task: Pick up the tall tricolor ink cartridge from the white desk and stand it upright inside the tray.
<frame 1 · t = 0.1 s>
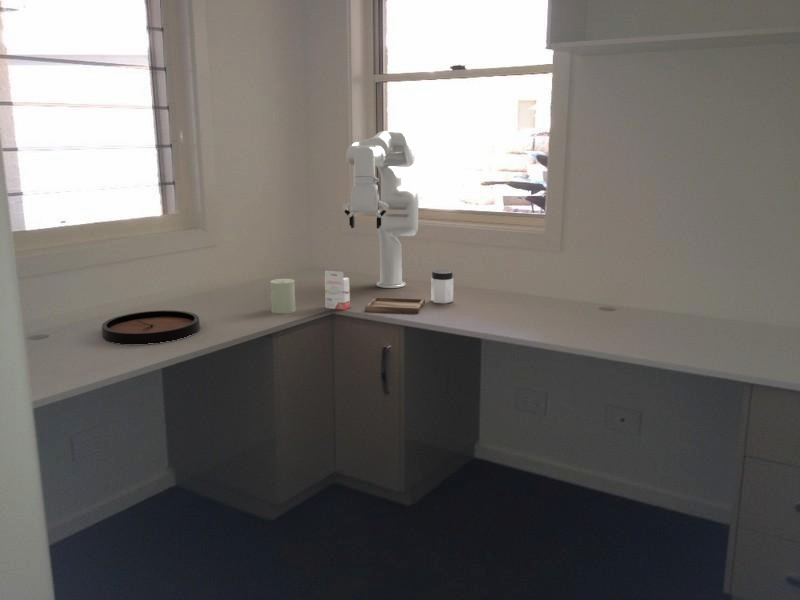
hand: (365, 227, 271), 31 cm above the worktop, tool pointing down, fingers open, 9 cm apart
can: (283, 311, 277), on the worktop
tray: (395, 307, 281), on the worktop
jar: (442, 301, 291), on the worktop
wall clock: (152, 333, 248), on the worktop
ink cartridge box: (337, 308, 281), on the worktop
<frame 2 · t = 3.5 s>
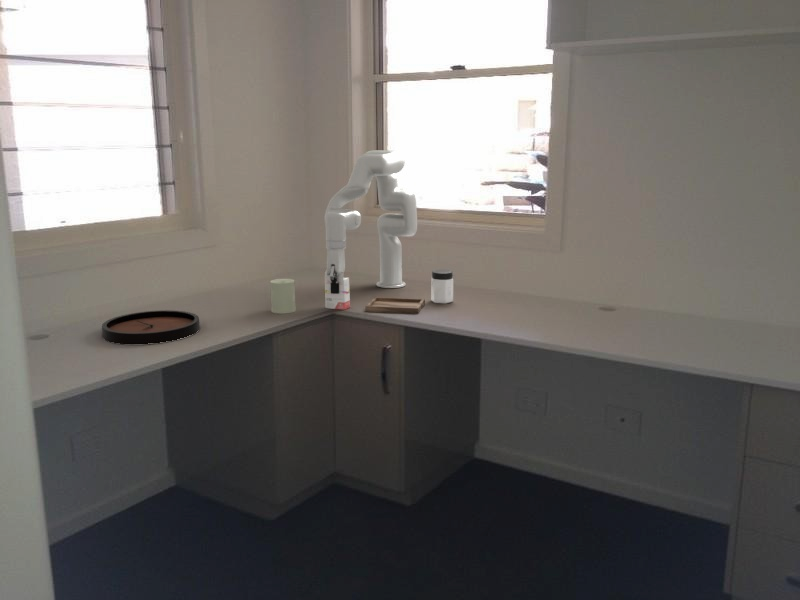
hand: (337, 291, 279), 7 cm above the worktop, tool pointing down, fingers closed on ink cartridge box, 5 cm apart
ink cartridge box: (337, 308, 281), on the worktop, touching gripper
everything else where it was.
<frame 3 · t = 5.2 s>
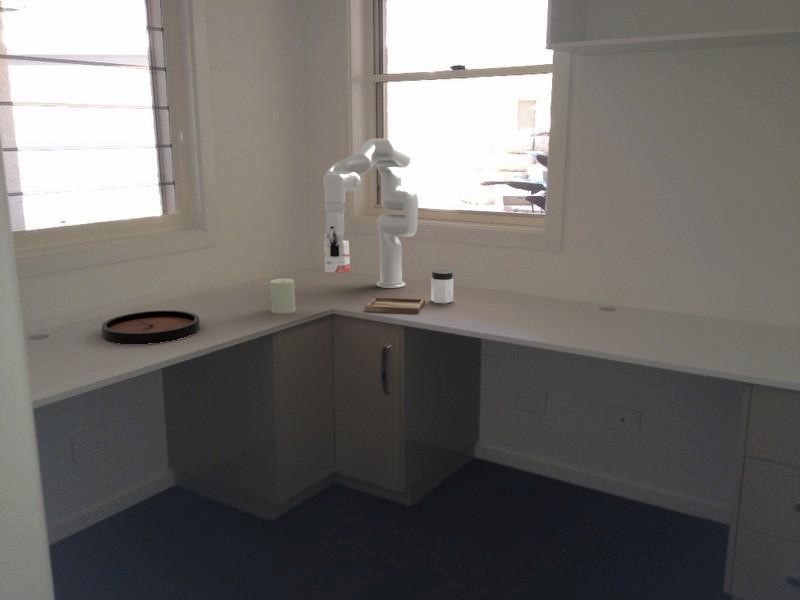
hand: (337, 254, 277), 21 cm above the worktop, tool pointing down, fingers closed on ink cartridge box, 5 cm apart
ink cartridge box: (337, 271, 278), point 14 cm above the worktop, touching gripper
everything else where it was.
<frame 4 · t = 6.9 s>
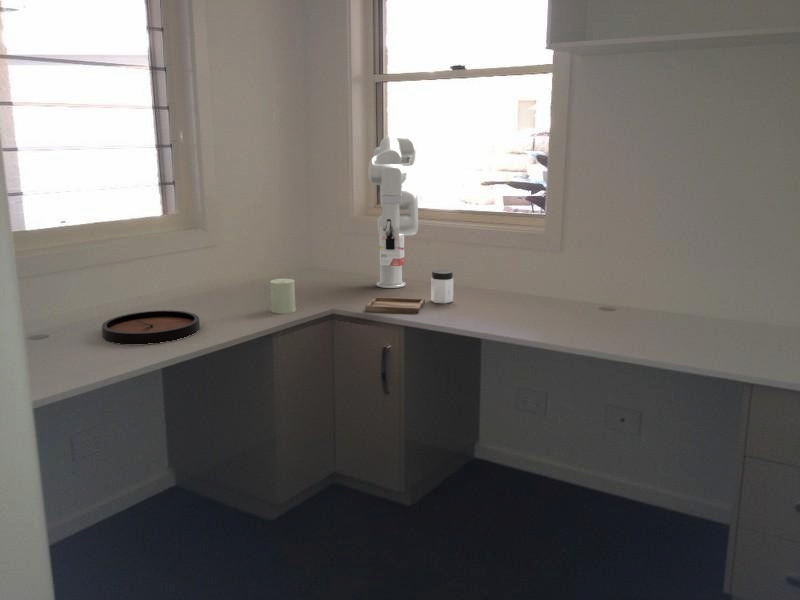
hand: (392, 247, 275), 23 cm above the worktop, tool pointing down, fingers closed on ink cartridge box, 5 cm apart
ink cartridge box: (392, 265, 277), point 17 cm above the worktop, touching gripper
everything else where it was.
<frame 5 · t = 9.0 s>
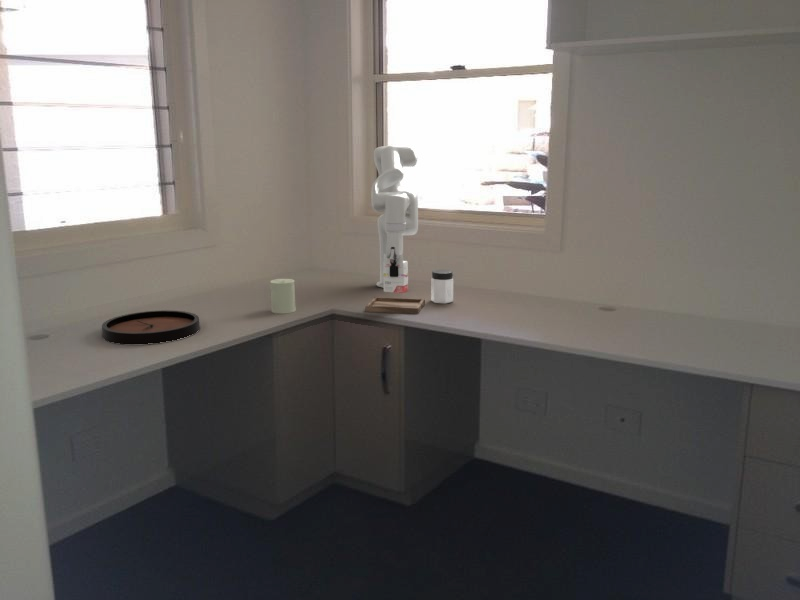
hand: (395, 274, 278), 13 cm above the worktop, tool pointing down, fingers closed on ink cartridge box, 5 cm apart
ink cartridge box: (395, 292, 279), point 6 cm above the worktop, touching gripper
everything else where it was.
when the fingers open (9 cm above the worktop, at t = 10.7 s): ink cartridge box drops 1 cm, resting on tray.
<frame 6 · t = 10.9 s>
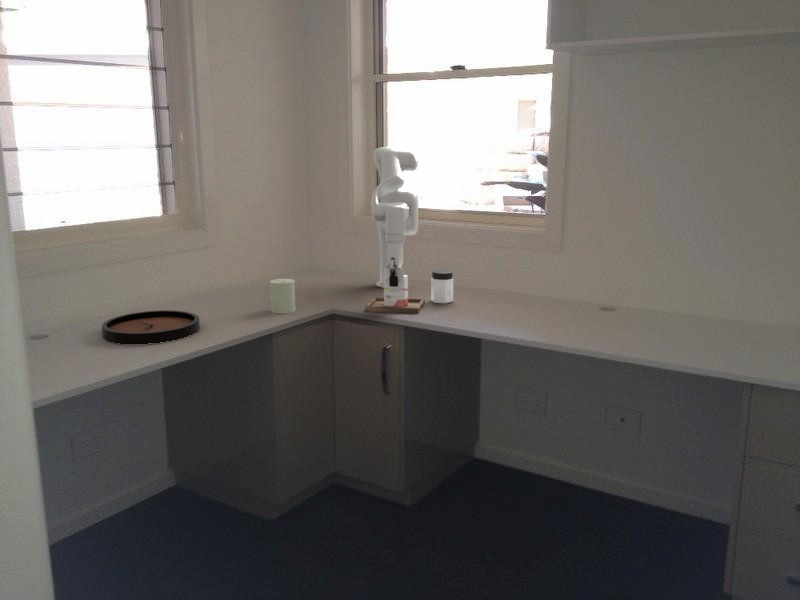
hand: (395, 283, 279), 9 cm above the worktop, tool pointing down, fingers open, 7 cm apart
ink cartridge box: (396, 305, 281), point 1 cm above the worktop, touching tray
everything else where it was.
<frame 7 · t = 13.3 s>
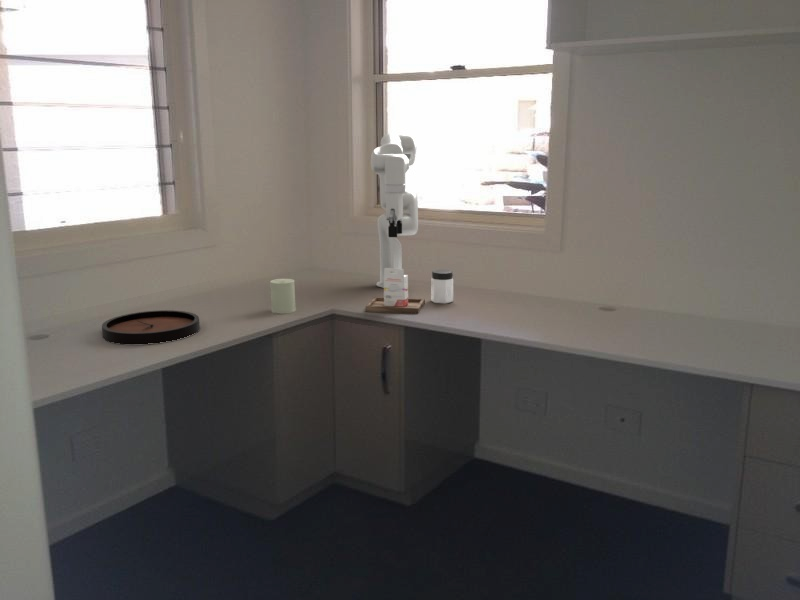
hand: (395, 235, 274), 28 cm above the worktop, tool pointing down, fingers open, 9 cm apart
nothing on the worktop moved.
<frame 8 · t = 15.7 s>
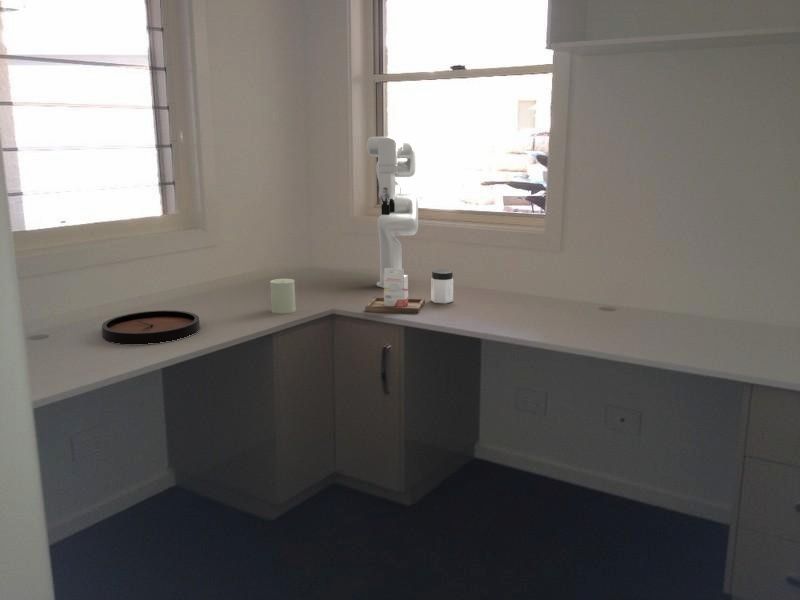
hand: (388, 213, 289), 34 cm above the worktop, tool pointing down, fingers open, 9 cm apart
nothing on the worktop moved.
at the end: ink cartridge box inside the target area on the tray (0.6 cm from its centre), point 0.6 cm above the tray's base; ink cartridge box tilted 0°; the gripper is holding nothing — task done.
